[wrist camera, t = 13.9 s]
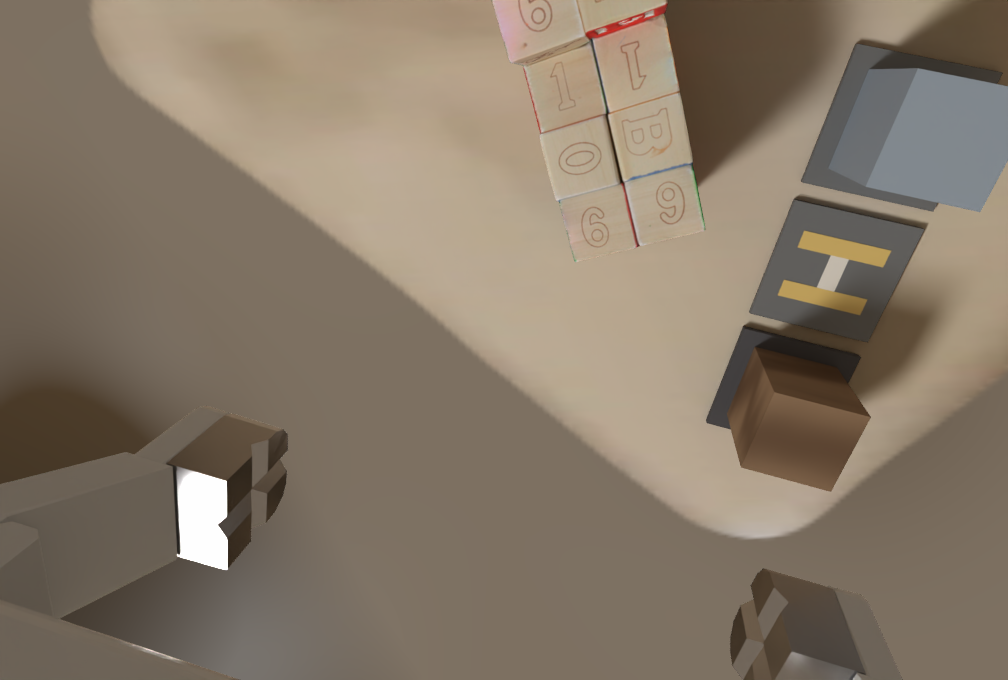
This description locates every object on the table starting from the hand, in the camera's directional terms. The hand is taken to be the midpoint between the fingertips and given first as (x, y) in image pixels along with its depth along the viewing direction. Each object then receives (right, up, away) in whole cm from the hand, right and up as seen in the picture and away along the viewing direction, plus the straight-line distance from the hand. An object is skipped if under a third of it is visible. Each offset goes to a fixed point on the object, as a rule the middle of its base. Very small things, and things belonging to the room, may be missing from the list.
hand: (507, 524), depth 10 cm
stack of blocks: (+5, +21, +23) cm, 31 cm away
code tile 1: (+19, +7, +25) cm, 32 cm away
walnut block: (+17, 0, +28) cm, 33 cm away
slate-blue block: (+20, +14, +21) cm, 33 cm away
